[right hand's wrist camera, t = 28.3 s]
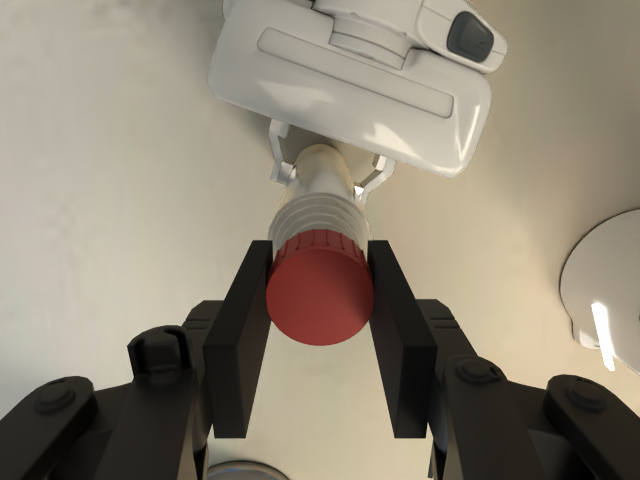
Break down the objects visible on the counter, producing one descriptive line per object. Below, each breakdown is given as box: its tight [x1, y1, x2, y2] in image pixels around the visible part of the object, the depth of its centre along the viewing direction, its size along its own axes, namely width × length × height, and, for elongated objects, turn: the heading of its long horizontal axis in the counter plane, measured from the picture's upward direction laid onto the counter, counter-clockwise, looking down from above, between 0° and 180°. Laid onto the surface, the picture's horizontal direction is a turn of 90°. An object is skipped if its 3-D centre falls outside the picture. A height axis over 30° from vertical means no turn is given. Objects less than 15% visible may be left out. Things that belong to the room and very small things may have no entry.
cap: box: [266, 229, 374, 346], centre depth 14 cm, size 4×4×2 cm
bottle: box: [267, 144, 373, 262], centre depth 24 cm, size 5×5×24 cm
